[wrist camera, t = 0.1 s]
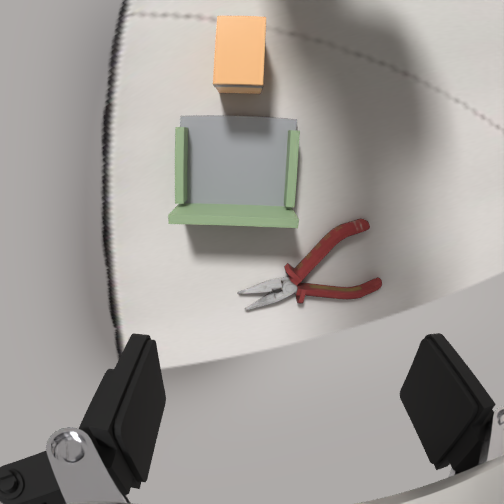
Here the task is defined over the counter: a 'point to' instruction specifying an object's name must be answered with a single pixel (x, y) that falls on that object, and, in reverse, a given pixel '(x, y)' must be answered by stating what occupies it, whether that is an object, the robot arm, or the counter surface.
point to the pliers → (307, 264)
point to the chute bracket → (236, 171)
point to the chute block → (239, 54)
